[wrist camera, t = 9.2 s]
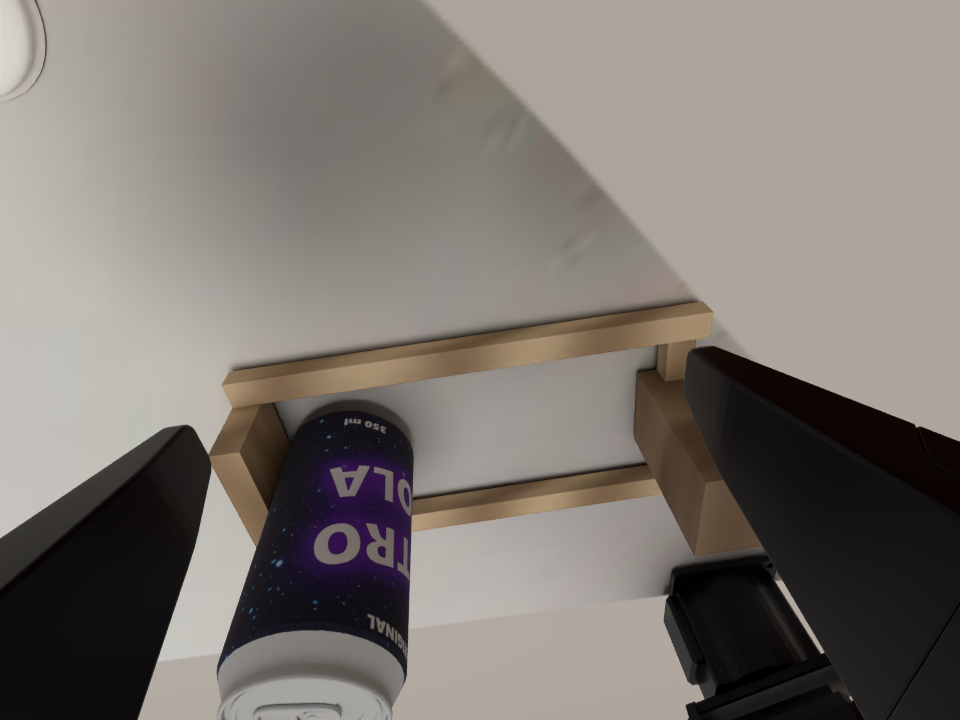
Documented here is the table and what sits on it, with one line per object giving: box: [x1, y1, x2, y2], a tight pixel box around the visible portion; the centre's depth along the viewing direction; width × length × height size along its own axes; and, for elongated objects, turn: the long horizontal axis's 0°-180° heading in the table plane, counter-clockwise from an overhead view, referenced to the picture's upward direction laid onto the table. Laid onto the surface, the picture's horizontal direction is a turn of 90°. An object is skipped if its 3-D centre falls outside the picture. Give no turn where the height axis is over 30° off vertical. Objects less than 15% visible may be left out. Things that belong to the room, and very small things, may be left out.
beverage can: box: [217, 411, 414, 720], centre depth 20 cm, size 6×6×12 cm
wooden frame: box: [209, 301, 762, 556], centre depth 22 cm, size 21×10×7 cm, turn 97°
